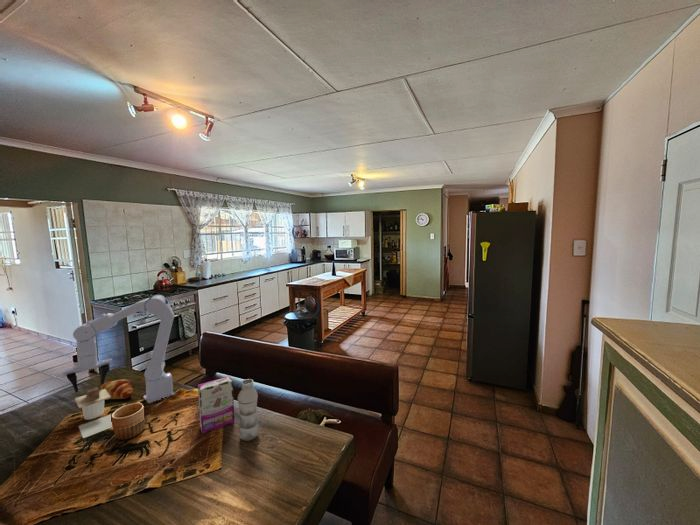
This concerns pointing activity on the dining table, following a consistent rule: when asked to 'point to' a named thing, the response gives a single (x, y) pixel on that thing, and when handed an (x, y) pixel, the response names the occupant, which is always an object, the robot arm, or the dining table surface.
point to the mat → (95, 426)
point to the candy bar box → (216, 404)
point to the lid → (92, 396)
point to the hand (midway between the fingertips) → (89, 387)
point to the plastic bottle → (248, 411)
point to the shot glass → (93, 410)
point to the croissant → (118, 389)
